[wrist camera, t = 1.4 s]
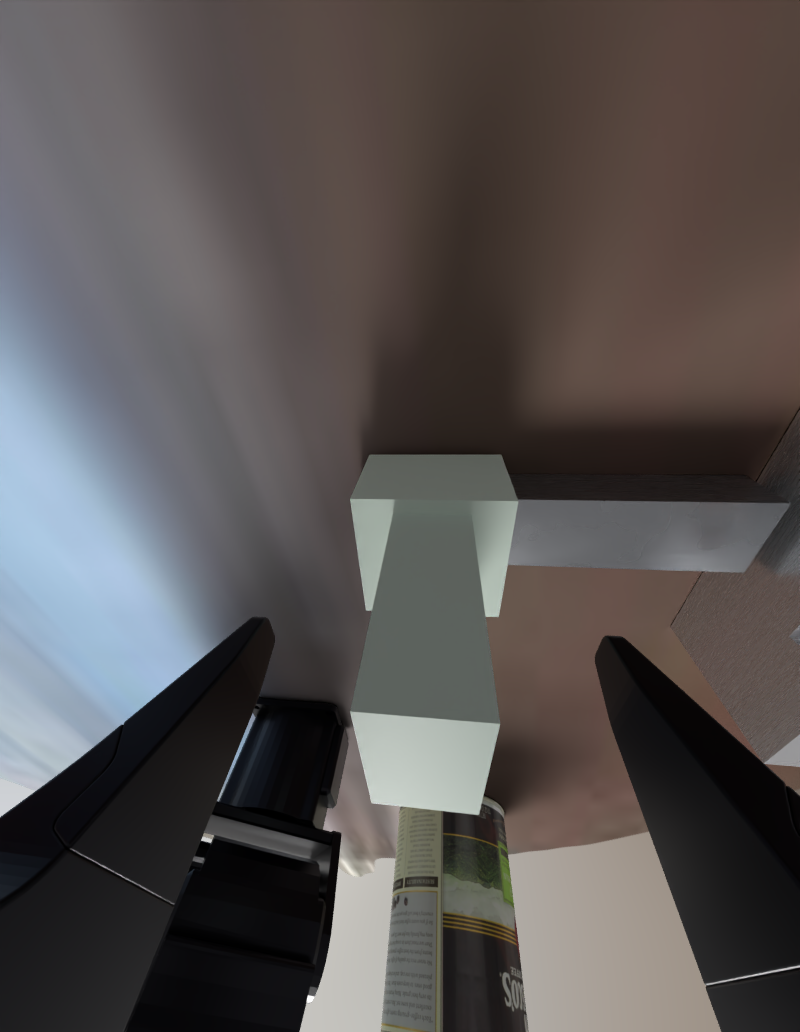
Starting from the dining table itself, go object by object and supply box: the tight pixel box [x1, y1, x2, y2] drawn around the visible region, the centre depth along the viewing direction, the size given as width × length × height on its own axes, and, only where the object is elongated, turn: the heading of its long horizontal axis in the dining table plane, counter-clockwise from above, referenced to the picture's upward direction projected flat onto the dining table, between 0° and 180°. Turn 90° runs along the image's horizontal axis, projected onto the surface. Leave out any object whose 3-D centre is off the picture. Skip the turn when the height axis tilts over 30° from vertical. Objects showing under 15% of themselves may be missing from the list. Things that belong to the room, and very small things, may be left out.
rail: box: [508, 474, 791, 573], centre depth 13 cm, size 14×3×2 cm, turn 93°
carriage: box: [350, 455, 518, 815], centre depth 10 cm, size 5×5×9 cm
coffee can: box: [381, 795, 528, 1032], centre depth 28 cm, size 10×10×14 cm
